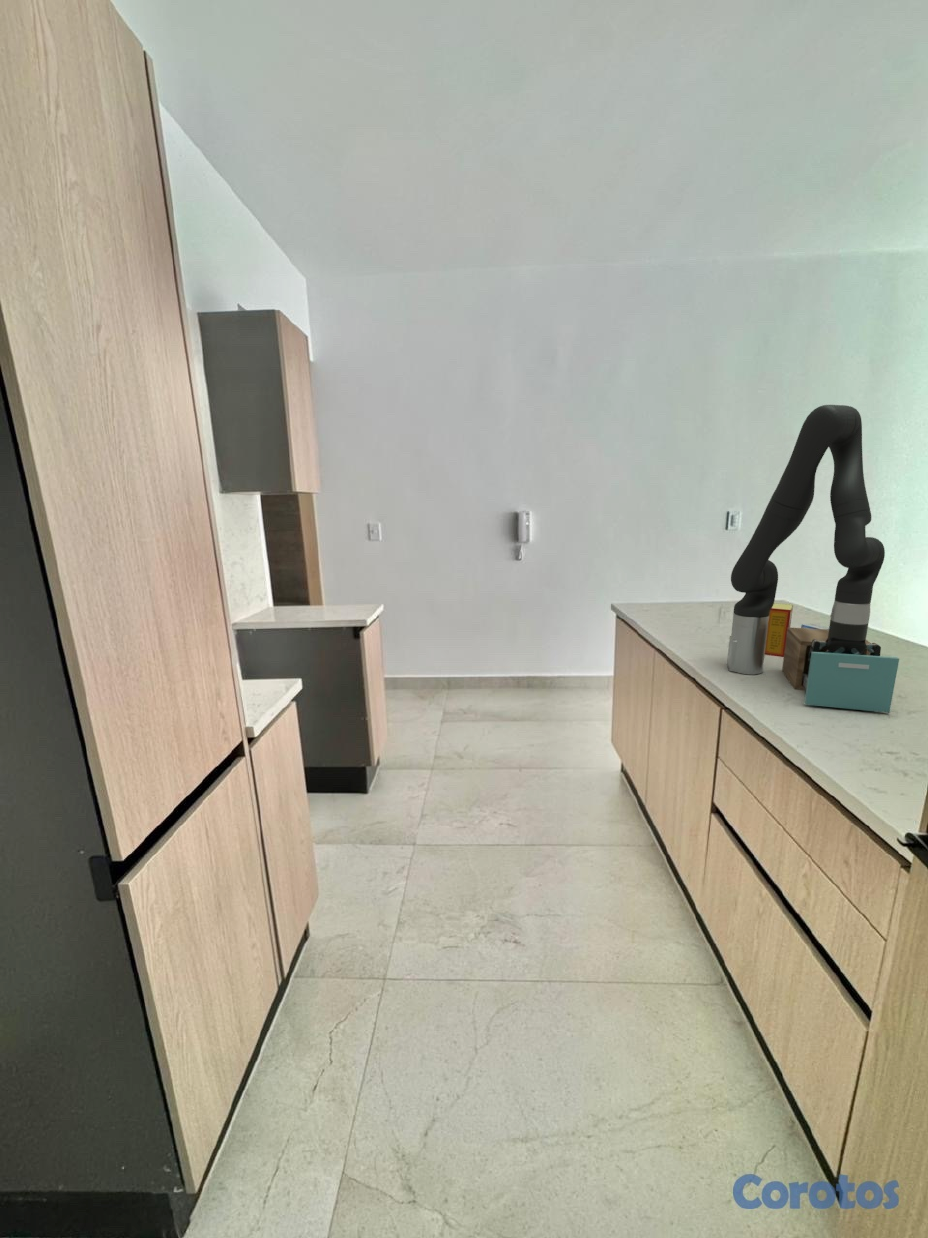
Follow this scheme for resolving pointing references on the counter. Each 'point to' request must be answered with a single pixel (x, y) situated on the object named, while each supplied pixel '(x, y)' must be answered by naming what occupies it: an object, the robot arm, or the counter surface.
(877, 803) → the counter surface
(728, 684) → the counter surface
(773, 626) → the baking soda box
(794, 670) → the cabinet
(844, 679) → the drawer
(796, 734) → the counter surface
